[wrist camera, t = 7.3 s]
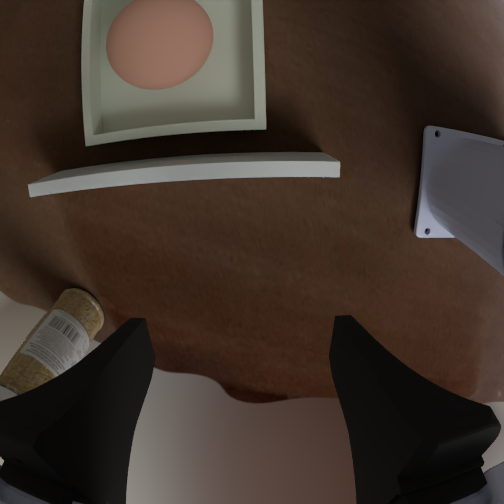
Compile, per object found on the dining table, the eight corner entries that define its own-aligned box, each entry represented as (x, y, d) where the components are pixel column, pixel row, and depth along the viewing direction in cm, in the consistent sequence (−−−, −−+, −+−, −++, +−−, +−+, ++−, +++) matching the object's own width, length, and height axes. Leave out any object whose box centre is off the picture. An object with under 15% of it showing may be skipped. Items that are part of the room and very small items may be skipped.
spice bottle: (52, 300, 23) (-31, 410, 11) (80, 276, 22) (-15, 398, 10) (86, 337, 25) (22, 456, 13) (116, 318, 24) (48, 453, 12)
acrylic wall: (323, 152, 19) (340, 161, 15) (322, 164, 19) (339, 177, 15) (60, 171, 19) (28, 184, 15) (62, 181, 19) (30, 197, 16)
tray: (259, -27, 14) (260, -40, 12) (264, 128, 18) (266, 129, 16) (98, -2, 14) (85, -10, 12) (99, 142, 18) (85, 146, 16)
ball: (217, 5, 14) (206, -32, 9) (219, 88, 17) (207, 77, 12) (128, 18, 14) (90, -8, 9) (129, 98, 17) (87, 95, 12)
